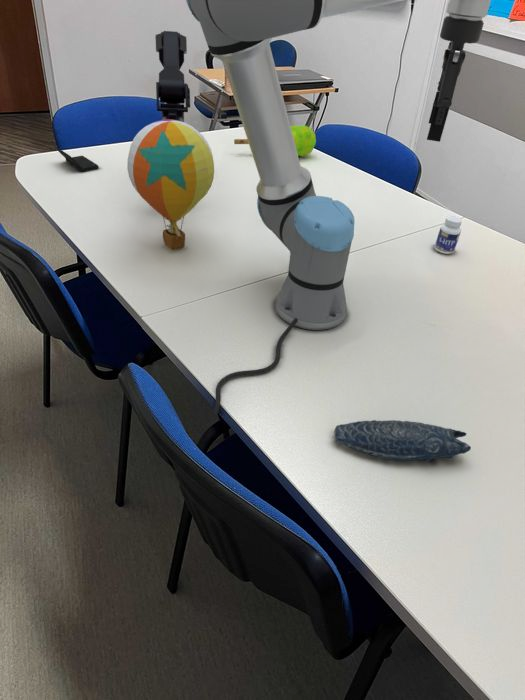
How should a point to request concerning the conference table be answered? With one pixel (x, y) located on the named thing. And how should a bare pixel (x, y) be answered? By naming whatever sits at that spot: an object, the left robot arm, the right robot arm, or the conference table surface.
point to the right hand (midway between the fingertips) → (433, 131)
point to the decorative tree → (296, 139)
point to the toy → (171, 172)
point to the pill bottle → (448, 235)
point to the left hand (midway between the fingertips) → (175, 189)
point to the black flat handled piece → (79, 161)
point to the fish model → (401, 439)
